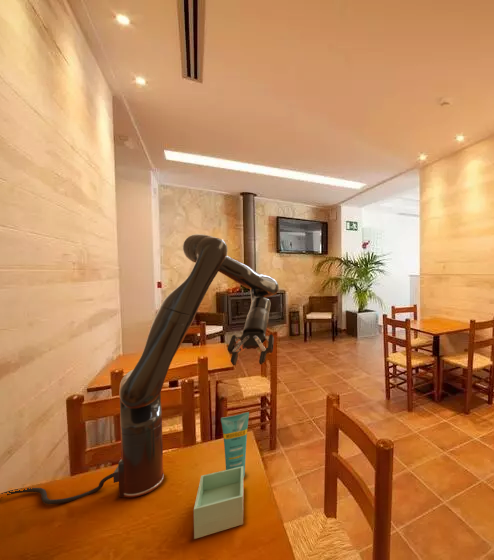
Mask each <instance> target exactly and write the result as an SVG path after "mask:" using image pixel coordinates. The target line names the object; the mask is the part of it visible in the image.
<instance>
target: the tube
mask: <svg viewBox="0 0 494 560" xmlns="http://www.w3.org/2000/svg"><path fill="white" fill-rule="evenodd" d="M249 417H250V411H247V412H242V413H238V414H235V415H229V416H225V417H220V423H221V429H222V435H223V437H222V438H223V446H224V462H225V470H228V469H232V468H236V467H241V466H243V479H244V478H245V475H246V455H247V441H248V440H247V439H248V427H249Z"/></svg>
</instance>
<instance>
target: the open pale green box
mask: <svg viewBox="0 0 494 560" xmlns="http://www.w3.org/2000/svg"><path fill="white" fill-rule="evenodd" d="M244 483H245V482H244V478H243V466H241V467H236V468H232V469H228V470H226V469H224V470H220V471H219V470H218V471H216V472H212V473H207V474H202V475H200V479H199V483H198V484H199V485H198V488H197V493H196V498H195V500H194V501H195V502H194V507H193V540H196V539H199V538H203V537H206V536H209V535H213V534H215V533H219V532H222V531H226V530H228V529H232V528H235V527H238V526H242V525H244V491H245V489H244V488H245V487H244V485H245V484H244Z"/></svg>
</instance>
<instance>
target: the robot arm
mask: <svg viewBox="0 0 494 560" xmlns="http://www.w3.org/2000/svg"><path fill="white" fill-rule="evenodd" d="M182 251H183V254H184V256H185V257H186V258H187V259H188V261H191V262H193V263H194V265H193V266H192V269H191V271H190V273H189V275H188V276H187V278H186V279H184V281H182V282H181V284H179V285H178V286H177V287H175V288H174V289H173V290H172V291H171V292H170V293H168V295H167V296H165V298H164V299H163V300H162V302H161V303H160V306H159V308H158V310H157V311H156V314H155V315H154V318H153V319H152V322H151V325H150V328H149V331H148V334H147V337H146V341H145V345H144V348H143V351H142V354H141V356H140V358H139V360H138V361H137V363H136V364H135V366H134V368H133V369H132V370H129V371H128V372H127V373H126V374H125V375H124V376H123V377H122V378H121V380H120V383H119V389H118V396H119V419H120V420H119V426H120V428H119V429H120V430H119V431H120V460H119V461H118V464H117V467H116V468H115V470H114V471H113V472H112V473H111V474H109V475H106V476H105V477H103V478H102V479H101V480H100V481H99V482H98V486H96V487H95V488H93V489H91V490H89V491H87V492H83V493H81V494H78V495H74V496H70V497H66V498H58V499H57V498H56V499H49V498H48V494H47V493H48V492H47V491H46V489H45V488H43V487H26V488H27V490H25V489H24V490H23V491H20V490H19V491H15V492H10V491H13V490H18V489H19V488H15V489H11V490H7V491H4V492H2V493H0V494H3V493H7V492H9V493H11V494H7V496H10V495H15V494H22V493H23V494H25V493H39V494H40V497H41V501H42V503H43V504H45V505H59V504H60V505H61V504H65V503H69V502H73V501H76V500H78V499H82V498H83V497H86V496H89V495H92V494H94V493H97V492H98V491H100V490H101V489H102V488H103V487H104V484H105V482H106V481H108V480H110V479H113V483H115V484H116V483H118V498H128V499H129V498H131V499H132V498H137V497H142V496H144V495H147V494H149V493H151V492H153V491H154V490H156V489H158V488H159V487H160V486H161V485H162V483H163V482H164V480H165V477H164V476H165V475H164V446H163V410H162V409H163V408H162V390H163V387H164V383H165V381H166V377H167V376H168V372H169V369H170V367H171V364H172V362H173V360H174V358H175V356H176V354H177V352H178V350H180V348H181V345H182V343H183V341H184V340H185V337H186V336H187V335H188V332H189V330H190V329H191V326H192V325H193V322H194V320H195V318H196V316H197V313H198V311H199V308H200V306H201V304H202V302H203V300H204V298H205V296H206V295H207V292H208V291H209V288H210V287H211V285H212V283H213V281H214V280H215V278H216V276H217V275H218V273H221V274H222V275H224V276H226V277H227V278H229V279H231V280H232V281H234V282H236V283H237V284H239V285H240V286H242V287H244V288H246V289H248V290H250V291H249V292H250V301H251V302H250V306H249V310H248V313H247V316H246V319H245V323H244V327H243V331H242V334H241V336H236V334H233V335H232V336H231V337H230V341H229V343H228V347H227V348H226V349H227V351H228V354H229V355H231V357H230V363H231V364H232V366H236V365H237V362H238V358H239V354H240V353H241V352H244V351H245V350H246V349H247V350H251V349H253V350H256V349H259V350H260V355H259V360H258V363H259V365H260V366H261V365H263V364H265V362H266V358H267V355H268V354H272V353H273V352H274V343H275V338H274V335H273V334H269V335H267V329H268V324H269V318H270V310H271V304H272V303H271V300H270V299H269V298H268V297H271V296H274V295H276V294H277V293H278V292H279V289H280V286H279V283H278V281H277V280H276V279H275V278H273V277H272V276H270V275H267V274H263V273H259V272H258V271H256V270H254V269H253V268H252V267H251V266H248V265H247V264H245V263H244V262H241V261H239V260H237V259H235V258H232V257H230V256H229V255H228V246H227V243H226V241H225V240H224V239H221V238H219V237H216V236H212V235H208V234H203V233H194V234H191V235H189V236H187V237H186V238H185V239H184V241H183V244H182ZM266 341H267V347H265V346H264V343H265V342H266ZM29 488H30V489H29ZM31 488H32V489H31ZM2 498H3V497H1V498H0V499H2Z"/></svg>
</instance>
